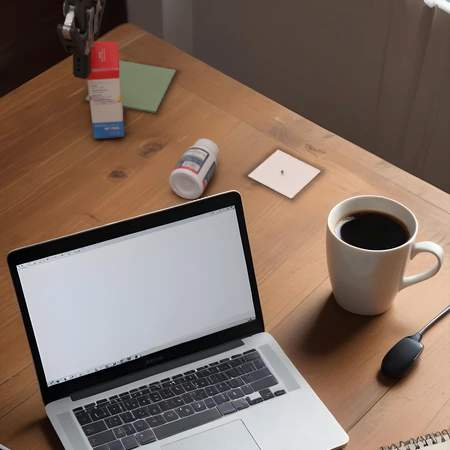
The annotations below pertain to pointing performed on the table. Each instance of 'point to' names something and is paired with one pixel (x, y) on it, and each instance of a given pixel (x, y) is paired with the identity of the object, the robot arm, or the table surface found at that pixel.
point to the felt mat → (143, 85)
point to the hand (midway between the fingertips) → (82, 76)
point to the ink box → (106, 91)
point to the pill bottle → (194, 169)
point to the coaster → (284, 173)
